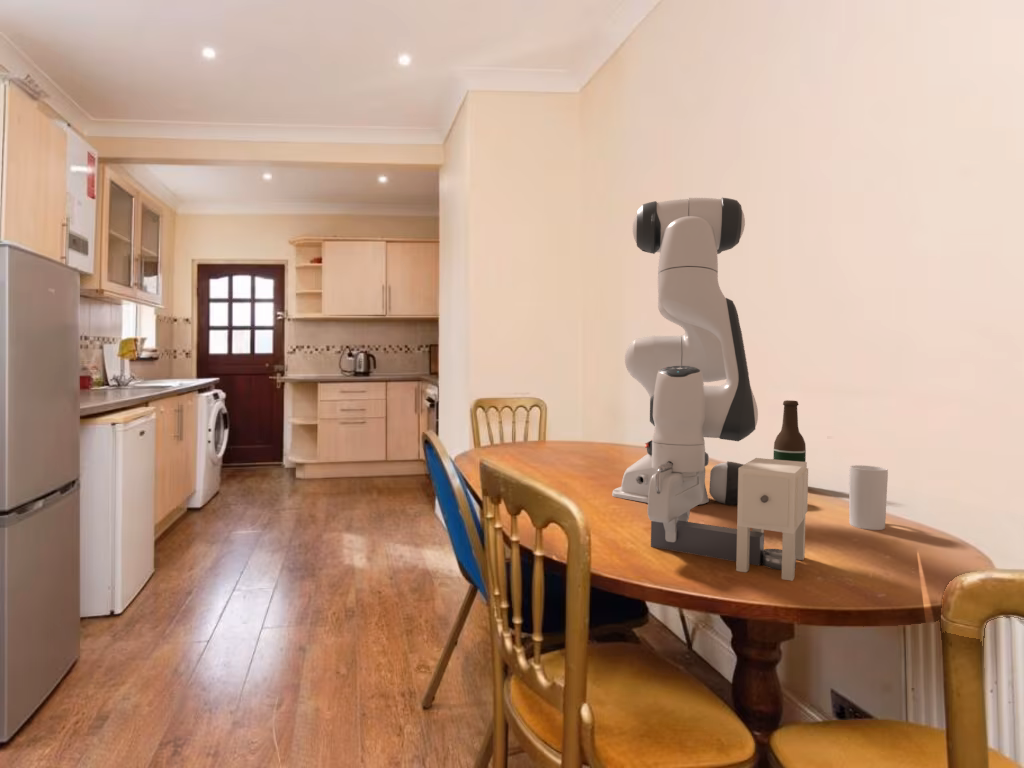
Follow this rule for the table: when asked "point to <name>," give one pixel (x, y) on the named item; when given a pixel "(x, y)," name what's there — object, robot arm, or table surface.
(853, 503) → the mug
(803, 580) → the table surface
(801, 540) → the cabinet
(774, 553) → the steel disc
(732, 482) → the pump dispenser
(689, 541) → the charcoal bar
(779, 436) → the beer bottle
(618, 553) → the table surface
